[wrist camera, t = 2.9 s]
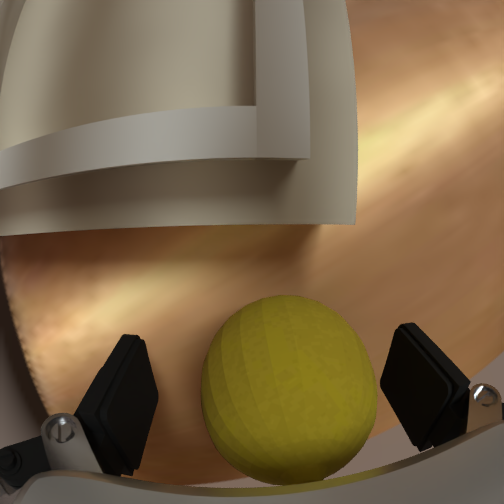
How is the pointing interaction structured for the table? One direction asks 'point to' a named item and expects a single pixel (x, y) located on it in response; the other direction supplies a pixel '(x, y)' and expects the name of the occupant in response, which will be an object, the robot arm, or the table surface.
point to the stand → (175, 114)
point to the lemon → (288, 391)
